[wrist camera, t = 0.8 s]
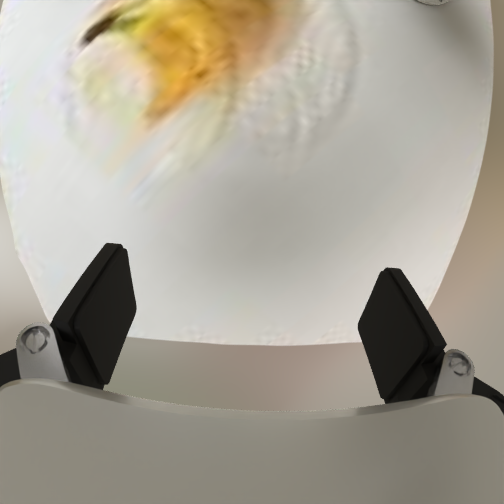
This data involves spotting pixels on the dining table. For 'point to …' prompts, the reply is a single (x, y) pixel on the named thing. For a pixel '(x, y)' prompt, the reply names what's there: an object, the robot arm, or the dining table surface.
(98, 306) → the robot arm
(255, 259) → the dining table surface
